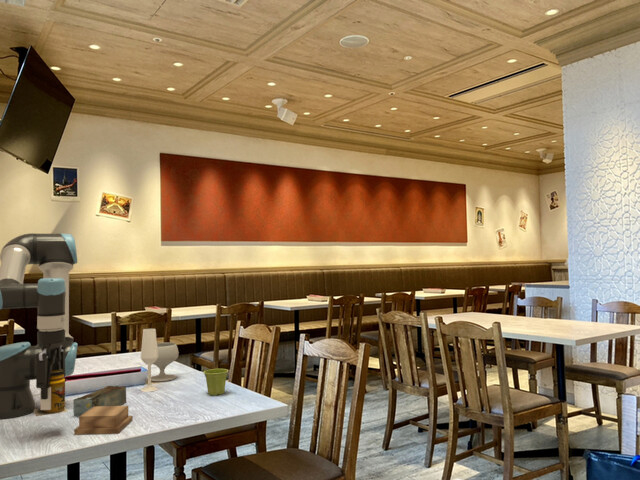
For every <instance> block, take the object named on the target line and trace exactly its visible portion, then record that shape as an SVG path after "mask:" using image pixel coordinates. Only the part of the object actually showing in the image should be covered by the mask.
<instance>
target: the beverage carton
mask: <svg viewBox="0 0 640 480" xmlns="http://www.w3.org/2000/svg"><path fill="white" fill-rule="evenodd" d="M126 403H127V387H126V386H125V385H124V386H123V385H122V386H119V385H107V386H106V387H102V388H101V389H98V390H96V391H93V392H91V393H88V394H85V395H83V396H80V397H77V398H74V399H73V403H72V404H73V417H74V416H77V418H79V416H81V415H82V414H84V413H85V412H86V411H88V410H89V409H91V408H92V407H94V406H123V405H124V404H126Z"/></svg>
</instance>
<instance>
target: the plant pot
mask: <svg viewBox="0 0 640 480" xmlns="http://www.w3.org/2000/svg"><path fill="white" fill-rule="evenodd" d="M228 372H229V370H228V369H226V368H213V369H207V370H204V371H203V375H204V377H205V381H206V388H207V394H208V395H210V396H218V395H223V394H225V390H226V381H227V376H228Z"/></svg>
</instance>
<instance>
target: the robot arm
mask: <svg viewBox="0 0 640 480" xmlns="http://www.w3.org/2000/svg"><path fill="white" fill-rule="evenodd" d="M77 254H78V253H77V245H76V239H75V237H74V236H73V235H72V234H70V233H61V232H60V233H35V232H34V233H33V232H32V233H23V234H21V235H18V236H16V237H13V238H12V239H11V240H9V241H8V242H6V244H4V246H3V247H2V249H1V250H0V310H7V309H21V308H22V309H24V308H26V309H29V308H37V317H36V319H37V320H36V322H37V324H36V329H37V330H38V331H37V332H36V333H37V344H36V345H31V343H30V342H29V341H21V342H16V343H11V344H5V345H2V346H0V419H1V420H2V419H10V418H11V419H12V418H16V417H21V416H25V415H28V414H31V413H33V412H34V409H36V401H35V398H34V395H33V393H32V390H31V381H33V380H34V381H36V382H35V388H36V389H40V409H41V410H51V387H49V386H50V379H51V372H52V370H63V371H64V379H65V380H66V377H69V376H72V375H73V374H74V373H75V368H76V360H77V352H78V345H79V344H78V343H77V342H76V341H75V342H74V337H73V336H71V334H70V333H69V332H70V331H69V330H70V328H69V327H70V324H69V323H70V313H69V312H70V306H69V305H70V302H69V300H70V297H69V296H70V272H71V271H72V270H73V269H74V265H76V264H78V255H77ZM27 265H38V269H39V270H40V271H41V272H42V273H43V274H42V275H43V278H40V279H38V280H37V283H24V279H25V273H26V267H27Z"/></svg>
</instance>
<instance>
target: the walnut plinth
mask: <svg viewBox="0 0 640 480" xmlns="http://www.w3.org/2000/svg"><path fill="white" fill-rule="evenodd" d="M133 417H134V416H133V415H129V405H120V406H94V407H92V408H91V409H89V410H88V411H86V412H85V413H84V414H82V415H81V416H79V417H78V426H77V427H76V428H75V429H74V430H73V431H74V432H73V433H74V434H73V435H76V436H77V435H109V434H111V435H112V434H120V433H121V432H122V431H123V430H124V429H125V428H126V427H127V426H128V425H129V424H130V423H132V422H133V419H134V418H133Z"/></svg>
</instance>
